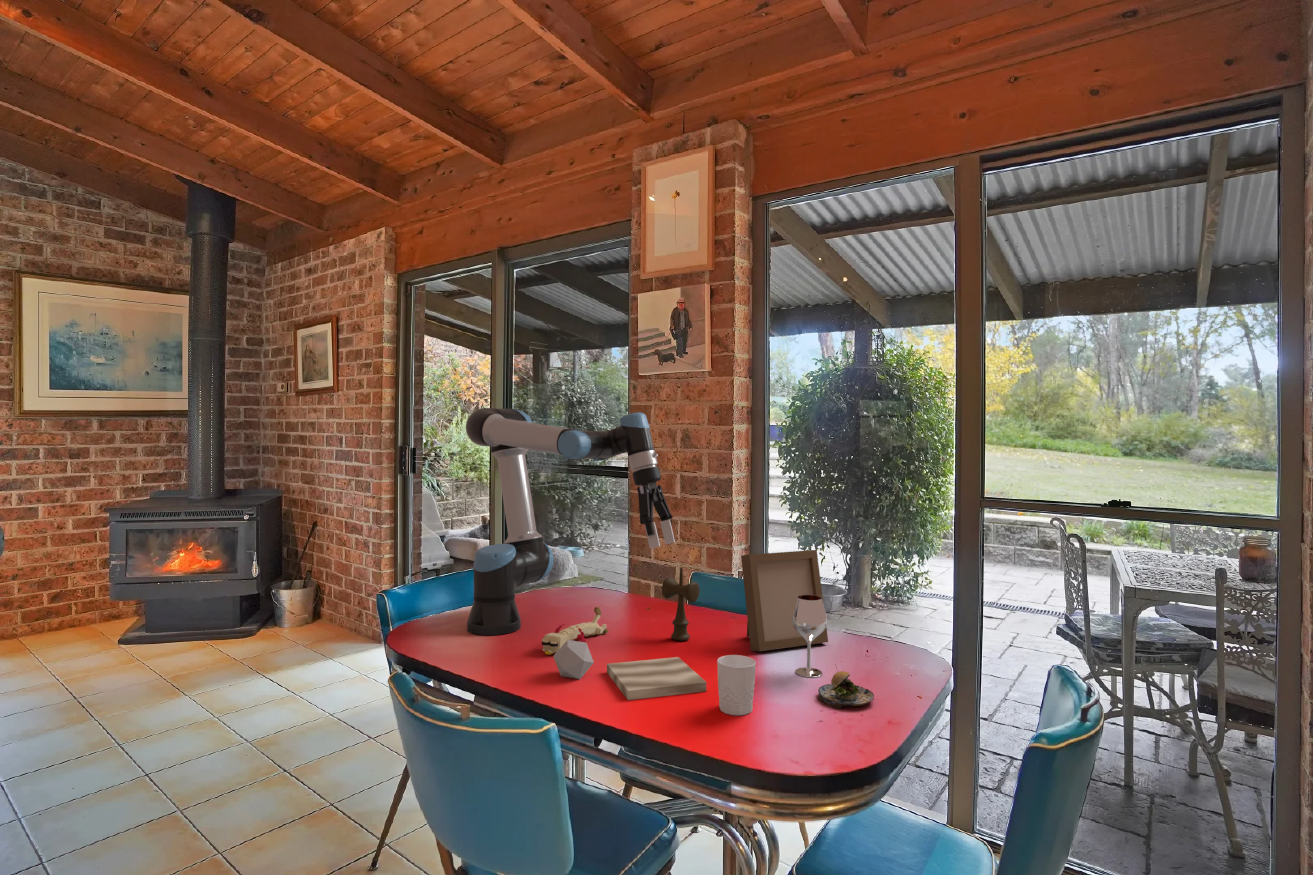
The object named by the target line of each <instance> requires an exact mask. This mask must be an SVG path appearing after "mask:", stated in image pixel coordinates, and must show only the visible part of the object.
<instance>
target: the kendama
mask: <svg viewBox="0 0 1313 875" xmlns="http://www.w3.org/2000/svg"><path fill="white" fill-rule="evenodd" d="M683 574H684V572H683V567H682V566H681V567H679V579H678V581H679V582H678V581H677V580H676V579H675V578H674V577H672V576H667V577H666V578H665V579H663V582H662V586H661V591H662V592H661V593H662V596H663V598H665V599H671V598H674V596H677V595H678V599H677V607H676V612H675V618H674V619H673V620H672V622H671V624H672V625H673V632H672V633H671V635H670V637H671V638H670V639H672V640H675V641H677V642H678V641H681V642H684V641H688V640H689V639H690V638H691V636H690V634H689V632H688V625H689V624H690V621H688V619H687V616H686V610H685V603H684V602H685V601H684V598H685V599H686V601H687V602H689V603H695V602H697V601H698V600H699V597H700V592H701V591H700V585H699V583H698V582H696V581H692V582H690V583H688V584H686V585H685V584H684V576H683Z"/></svg>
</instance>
